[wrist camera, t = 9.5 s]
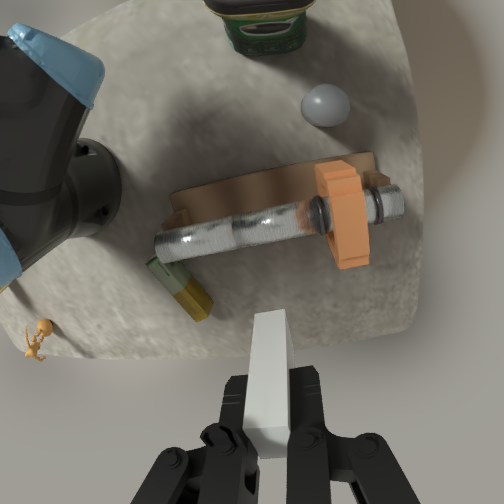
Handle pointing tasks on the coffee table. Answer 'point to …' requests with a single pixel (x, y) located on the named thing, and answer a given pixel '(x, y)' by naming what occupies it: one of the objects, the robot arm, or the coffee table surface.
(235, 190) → the stand
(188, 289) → the medication box
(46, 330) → the figurine
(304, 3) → the coffee jar
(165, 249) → the pipe
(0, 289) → the supplement bottle
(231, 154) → the coffee table surface
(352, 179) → the ring
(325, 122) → the gray egg
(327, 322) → the coffee table surface
